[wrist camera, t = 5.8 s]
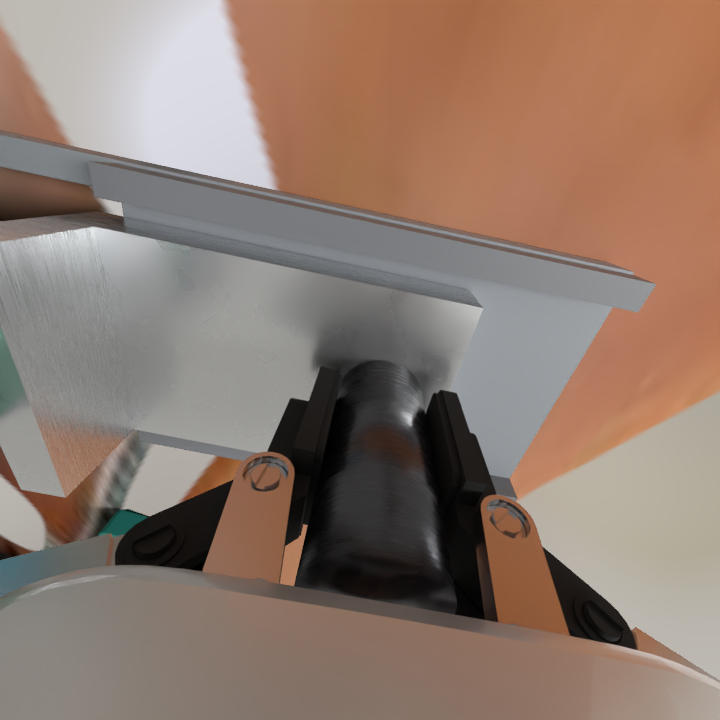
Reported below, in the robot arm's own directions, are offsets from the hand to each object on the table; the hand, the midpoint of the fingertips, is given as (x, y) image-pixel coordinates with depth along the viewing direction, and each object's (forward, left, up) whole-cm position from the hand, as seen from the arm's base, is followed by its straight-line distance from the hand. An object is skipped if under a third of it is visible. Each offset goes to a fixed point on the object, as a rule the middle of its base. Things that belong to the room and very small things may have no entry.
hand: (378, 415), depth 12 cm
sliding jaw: (0, -4, -3) cm, 5 cm away
